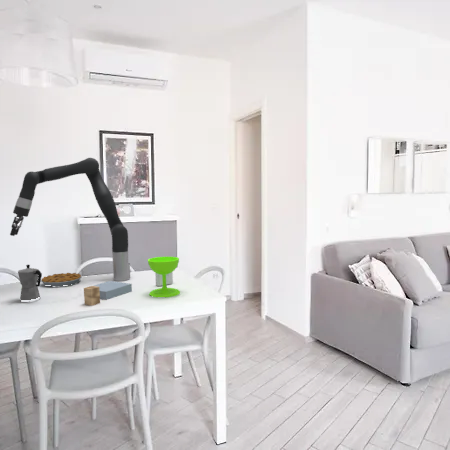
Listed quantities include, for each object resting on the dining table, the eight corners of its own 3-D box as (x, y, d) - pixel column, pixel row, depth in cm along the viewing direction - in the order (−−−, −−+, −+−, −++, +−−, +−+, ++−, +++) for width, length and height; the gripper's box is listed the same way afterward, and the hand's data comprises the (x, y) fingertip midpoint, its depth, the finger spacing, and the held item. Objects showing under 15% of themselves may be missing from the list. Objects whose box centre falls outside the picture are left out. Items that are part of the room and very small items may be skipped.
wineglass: (183, 289, 211) (181, 256, 209) (176, 297, 195) (175, 262, 194) (154, 289, 213) (152, 256, 211) (145, 297, 197) (143, 262, 195)
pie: (54, 279, 244) (54, 271, 243) (88, 279, 241) (87, 271, 241) (33, 288, 222) (33, 279, 221) (70, 288, 219) (69, 279, 219)
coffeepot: (12, 301, 195) (10, 265, 194) (29, 296, 204) (26, 262, 202) (34, 304, 189) (32, 267, 187) (50, 299, 197) (48, 263, 196)
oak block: (92, 301, 191) (92, 285, 191) (100, 303, 189) (99, 286, 188) (84, 304, 187) (83, 288, 186) (92, 305, 184) (91, 289, 184)
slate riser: (110, 287, 218) (109, 280, 217) (131, 291, 210) (131, 283, 210) (84, 295, 202) (83, 288, 202) (106, 299, 194) (106, 291, 194)
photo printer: (169, 282, 228) (168, 261, 227) (174, 283, 225) (173, 262, 224) (154, 285, 221) (153, 264, 220) (159, 286, 218) (158, 265, 217)
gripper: (28, 208, 209) (18, 237, 209) (32, 208, 223) (23, 236, 222) (13, 204, 207) (3, 233, 206) (17, 204, 221) (8, 232, 220)
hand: (13, 235), depth 214 cm, fingers open, 8 cm apart
